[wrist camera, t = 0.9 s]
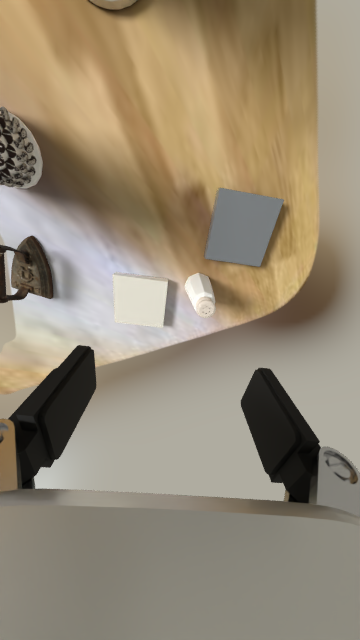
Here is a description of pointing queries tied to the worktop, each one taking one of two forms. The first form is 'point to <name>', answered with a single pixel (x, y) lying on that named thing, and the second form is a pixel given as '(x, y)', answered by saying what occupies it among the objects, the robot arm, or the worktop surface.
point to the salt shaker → (201, 294)
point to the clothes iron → (26, 271)
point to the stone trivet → (139, 299)
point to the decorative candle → (18, 153)
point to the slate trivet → (241, 227)
